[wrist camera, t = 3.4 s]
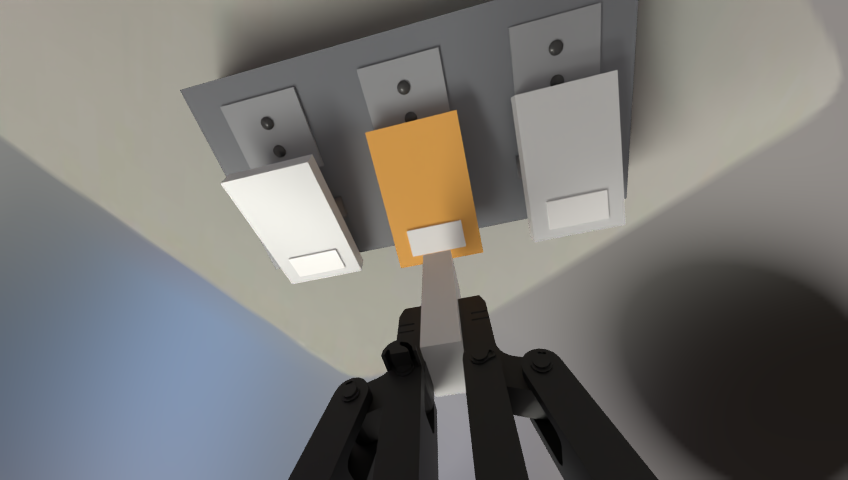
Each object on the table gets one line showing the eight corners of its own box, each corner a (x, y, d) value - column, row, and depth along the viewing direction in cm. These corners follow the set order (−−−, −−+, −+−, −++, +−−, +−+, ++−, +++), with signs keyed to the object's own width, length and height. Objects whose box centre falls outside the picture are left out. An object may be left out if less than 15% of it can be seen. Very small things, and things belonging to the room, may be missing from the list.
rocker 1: (228, 174, 18) (219, 184, 17) (312, 154, 17) (307, 163, 16) (296, 273, 23) (292, 285, 22) (363, 260, 22) (361, 271, 21)
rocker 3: (510, 98, 17) (515, 95, 16) (607, 73, 17) (618, 69, 16) (530, 237, 20) (535, 242, 18) (616, 220, 19) (626, 225, 18)
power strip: (217, 87, 21) (171, 91, 17) (604, -23, 18) (650, -47, 14) (294, 245, 26) (271, 274, 22) (600, 181, 23) (632, 202, 20)
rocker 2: (369, 133, 18) (364, 132, 17) (455, 111, 18) (456, 109, 17) (403, 262, 20) (400, 268, 19) (481, 246, 20) (483, 252, 19)
